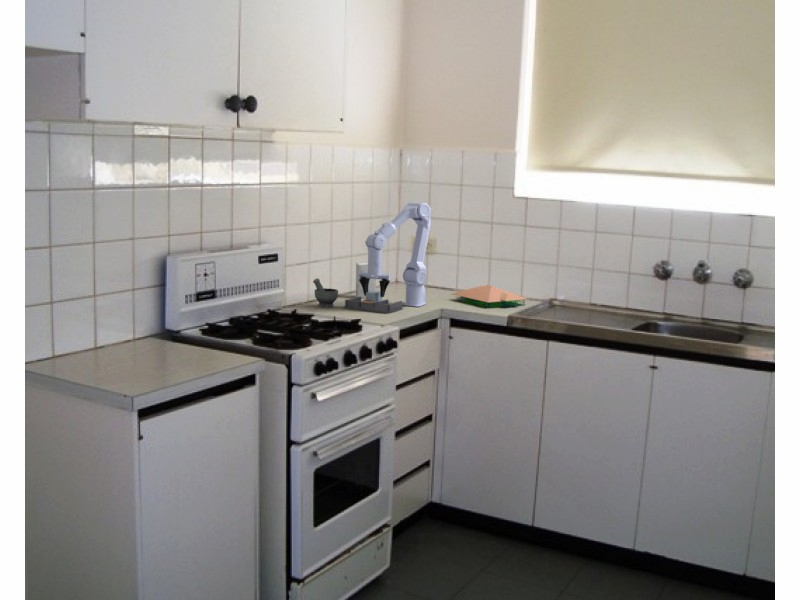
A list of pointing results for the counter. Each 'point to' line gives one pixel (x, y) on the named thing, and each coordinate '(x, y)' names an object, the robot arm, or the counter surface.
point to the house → (490, 296)
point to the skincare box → (359, 290)
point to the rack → (373, 305)
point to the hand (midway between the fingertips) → (374, 296)
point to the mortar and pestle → (325, 295)
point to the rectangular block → (373, 296)
